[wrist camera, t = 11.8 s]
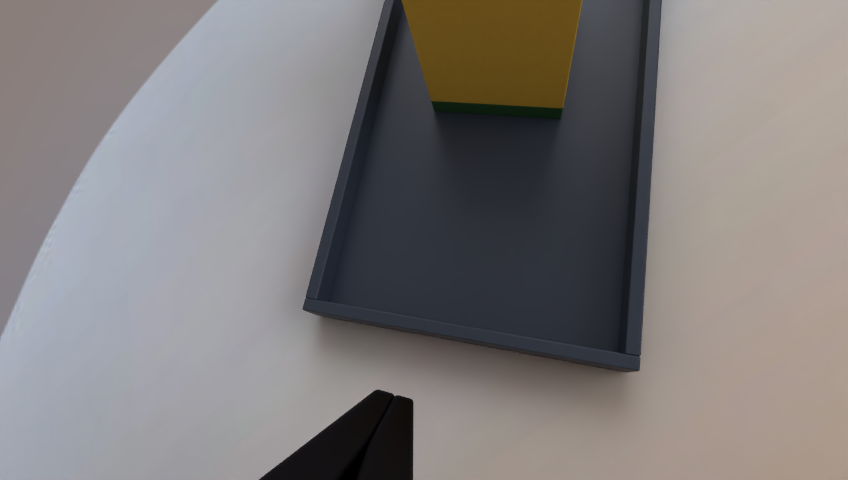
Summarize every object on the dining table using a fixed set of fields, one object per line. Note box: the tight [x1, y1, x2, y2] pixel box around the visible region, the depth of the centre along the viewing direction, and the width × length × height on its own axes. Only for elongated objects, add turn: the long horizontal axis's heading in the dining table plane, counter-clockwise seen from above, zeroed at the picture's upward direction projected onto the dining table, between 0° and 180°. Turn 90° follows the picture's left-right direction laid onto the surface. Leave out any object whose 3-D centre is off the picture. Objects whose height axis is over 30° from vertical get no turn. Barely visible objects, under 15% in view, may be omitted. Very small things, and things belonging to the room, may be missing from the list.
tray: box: [303, 0, 662, 372], centre depth 24 cm, size 25×15×2 cm, turn 169°
